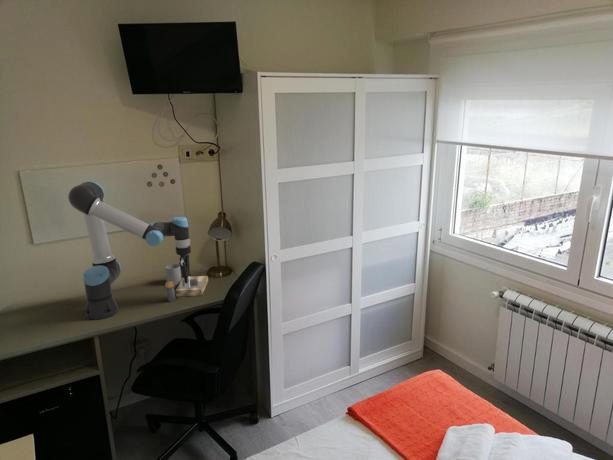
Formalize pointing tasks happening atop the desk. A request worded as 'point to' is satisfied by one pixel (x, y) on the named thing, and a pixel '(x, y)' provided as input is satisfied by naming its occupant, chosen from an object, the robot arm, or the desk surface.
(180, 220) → the robot arm
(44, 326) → the desk surface
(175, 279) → the cup
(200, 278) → the socket board
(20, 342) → the desk surface
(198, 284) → the shutter
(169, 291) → the orange grey cylinder
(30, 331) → the desk surface
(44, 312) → the desk surface
